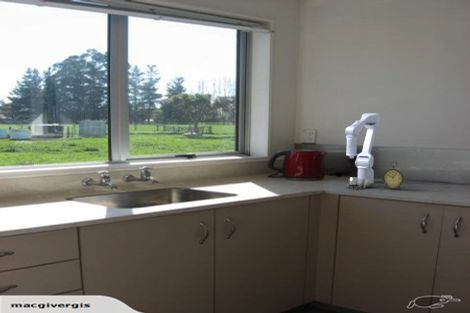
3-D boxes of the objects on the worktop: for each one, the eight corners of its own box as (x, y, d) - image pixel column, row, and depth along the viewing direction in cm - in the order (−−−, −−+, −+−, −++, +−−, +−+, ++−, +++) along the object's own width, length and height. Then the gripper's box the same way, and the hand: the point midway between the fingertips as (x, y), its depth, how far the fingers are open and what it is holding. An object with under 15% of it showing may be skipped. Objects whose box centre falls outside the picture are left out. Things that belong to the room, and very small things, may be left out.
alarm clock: (381, 189, 235) (383, 160, 234) (383, 187, 240) (384, 159, 238) (402, 190, 230) (403, 161, 228) (403, 189, 235) (404, 161, 233)
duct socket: (365, 185, 247) (365, 176, 247) (376, 187, 239) (376, 178, 239) (342, 187, 239) (342, 178, 239) (353, 189, 231) (353, 180, 231)
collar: (348, 187, 240) (348, 177, 239) (356, 187, 240) (356, 177, 239) (350, 188, 235) (350, 178, 235) (358, 188, 235) (358, 178, 235)
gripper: (359, 147, 237) (358, 170, 238) (357, 145, 251) (357, 167, 252) (346, 147, 239) (345, 170, 240) (345, 145, 253) (345, 167, 254)
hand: (350, 169), depth 246 cm, fingers open, 7 cm apart
